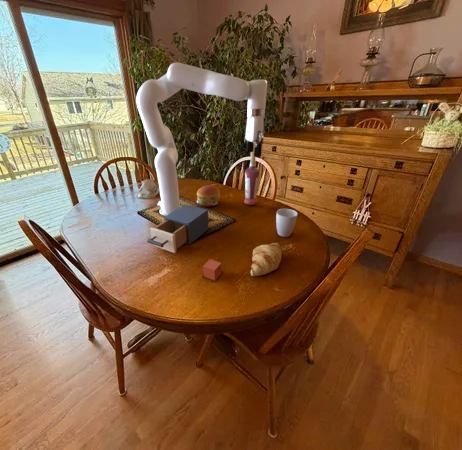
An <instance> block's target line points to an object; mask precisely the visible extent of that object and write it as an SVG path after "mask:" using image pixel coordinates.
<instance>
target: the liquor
mask: <svg viewBox="0 0 462 450" xmlns="http://www.w3.org/2000/svg"><path fill="white" fill-rule="evenodd" d="M256 157H257V156H254V150H253V152H250V160H249V161H250V162H249V167H247V168H245V170H244V201H243V203H244V204H245V205H247V206H249V207H252V206H255V205H256V204H257V203H258V201H257V196H258V187H259V186H258V185H259V180H260V169H259V168H258V167H256Z"/></svg>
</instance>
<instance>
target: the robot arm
mask: <svg viewBox="0 0 462 450" xmlns="http://www.w3.org/2000/svg"><path fill="white" fill-rule="evenodd" d="M182 89H183V90H188V91H191V92H195V93H200V94H203V95H207V96H208V95H209V96H217V97H221V98H225V99H229V100H233V101H236V102H242V101H245V100H247V105H246V109H247V110H246V111H247V112H246V118H247V119H246V126H245V127H246V128H245V140H246V153H251V152H253V151H254V156H256V157H261V156H262V148H263V144H264V143H263V142H264V125H265V124H264V121H265V120H264V118H265V117H266V107H267V106H266V104H267V93H268V92H267V91H268V81H267V80H266V79H252V80H250V81H249V80H245V79H243V78H239V77H236V76H232V75H228V74H225V73H219V72H216V71H213V70H209V69H205V68H202V67H198V66H194V65H190V64H186V63H183V62H173V63H171V64H170V65H169V67H168V68H167V72H166V73H165V74H164V75H162V76H161V77H159V78H158V79H155V78H151V79H147V80H145V81H144V82H143V83H142V84H141V86H140V87H139V89H138V91H137V93H136V106H137V110H138V113H139V116H140V119H141V122H142V124H143V128H144V130H145V132H146V137H147V139H148V140H147V141H148V142H149V144H150V145H151V146H152V147H153V148H155V149H156V150H157V153H156V155H155V158H154V168H155V171H156V176H157V181H158V182H157V183H158V188H159V189H160V191H159V196H160V200H158V203H157V204H156V206H157V207H160V209H159V214H160V215H161V216H163V217H165V216H166V215H168V214H170V213H171V212H173V211H175V210H176V209H178V208H180V207H181V206H182V205H181V203H180V202H181V201H180V190H179V181H178V173H177V172H178V171H177V166H176V165H177V162H178V160H179V152H178V150H177V146H176V143H175V140H174V136H173V134H172V131H171V130H170V128H169V127H168V126H167V125H165V124H164V121H163V119H162V115H161V113H160V111H159V107H158V103H163V102H165V101H166V100H168V99H169V98H170V97H172V96H173V95H175V94H176V93H178V92H179V91H181V90H182Z"/></svg>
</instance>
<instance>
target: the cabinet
mask: <svg viewBox="0 0 462 450" xmlns="http://www.w3.org/2000/svg"><path fill="white" fill-rule="evenodd" d="M180 206H181V207H180V208H178V209H176V210H175V211H173V212H171V213H170V214H168V215H166V216H163V219H164V221H166V220H167V219H168V220H171V221H175V222H178V223H182V224H186V225H187V231H188V241H186V242H185V243H184V244H188V245H191V244H192V243H194V242H195V241H196V240H197V239H198V238H200V237H201V236H202V235H204V234H205V233H206V232H207V231H208V230H209V229H210V228H209V227H210V226H209V210H208V209H207V208H203V207H198V206H193V205H189V204H183V205H180Z"/></svg>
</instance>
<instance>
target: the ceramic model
mask: <svg viewBox="0 0 462 450" xmlns="http://www.w3.org/2000/svg"><path fill="white" fill-rule="evenodd" d="M138 192H139V194H138V195H137V198H139V199H152V198H155V197H156V196H157V195H158V194H160V189H159V187H157V184H156V183H155V181H154V180H152V179H151V178H149V179H148V178H146V179H145V180H144V182H143V183H142V185H141V186H140V188H139V189H138Z"/></svg>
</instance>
